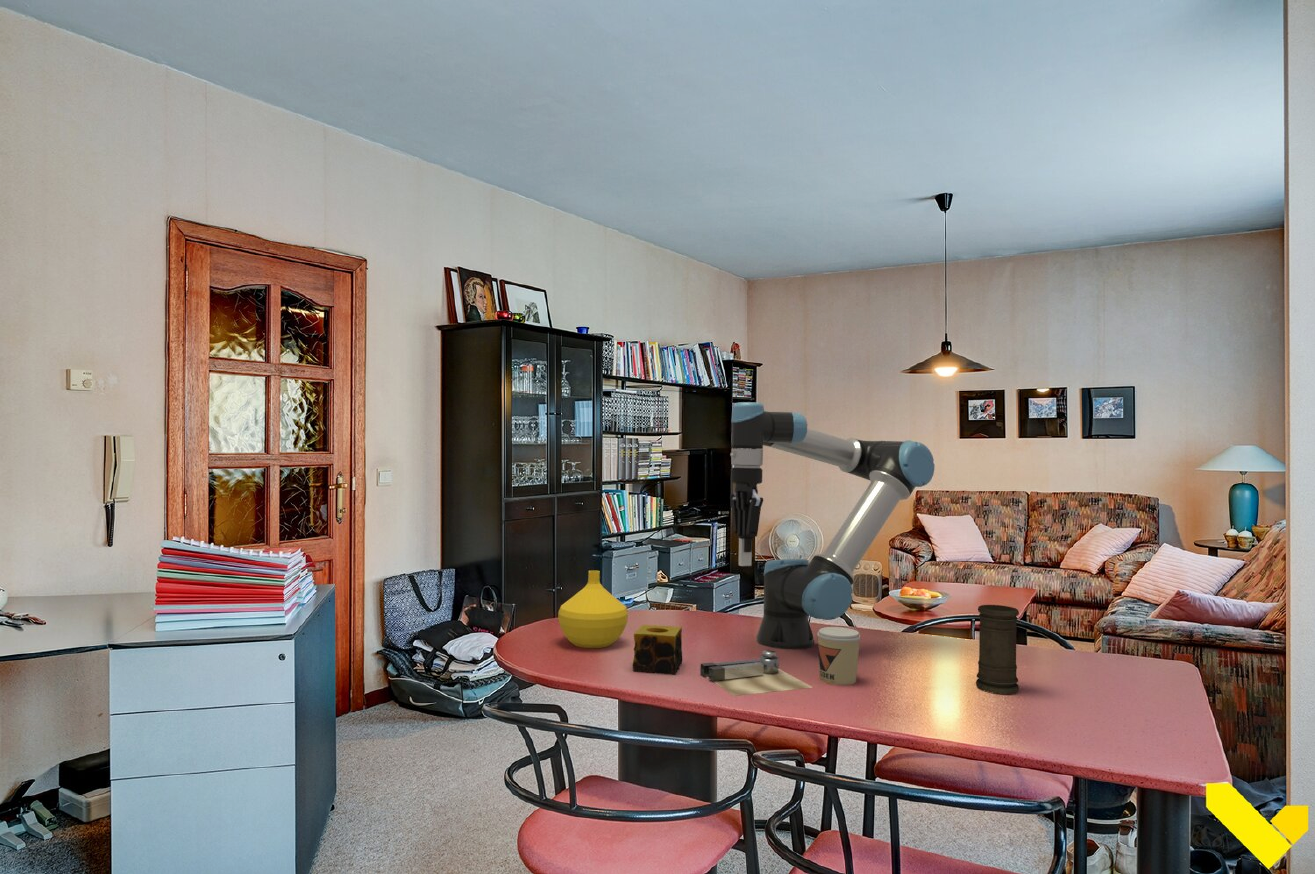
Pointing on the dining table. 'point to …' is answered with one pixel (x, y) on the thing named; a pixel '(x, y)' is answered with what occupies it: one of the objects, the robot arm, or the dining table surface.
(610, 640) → the vase
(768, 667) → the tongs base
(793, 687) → the board
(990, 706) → the dining table surface
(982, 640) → the container
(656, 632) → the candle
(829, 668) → the coffee cup
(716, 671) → the bar
